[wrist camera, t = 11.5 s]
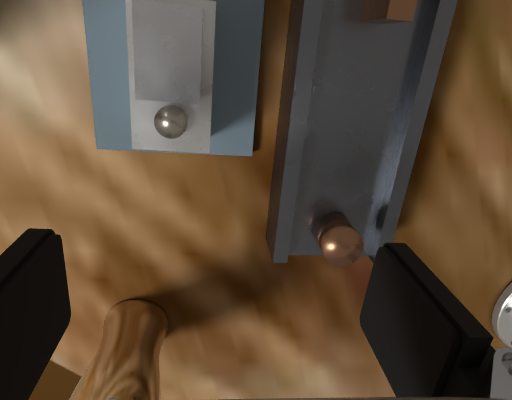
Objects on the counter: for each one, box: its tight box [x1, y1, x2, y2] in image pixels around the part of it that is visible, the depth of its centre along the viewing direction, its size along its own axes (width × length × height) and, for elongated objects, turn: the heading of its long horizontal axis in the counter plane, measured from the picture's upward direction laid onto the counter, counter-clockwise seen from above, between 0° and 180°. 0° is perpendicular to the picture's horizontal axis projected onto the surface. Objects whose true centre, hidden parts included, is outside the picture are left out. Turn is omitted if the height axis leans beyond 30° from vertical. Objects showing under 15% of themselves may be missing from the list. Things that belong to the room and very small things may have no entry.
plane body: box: [266, 0, 458, 266], centre depth 27 cm, size 22×10×7 cm, turn 175°
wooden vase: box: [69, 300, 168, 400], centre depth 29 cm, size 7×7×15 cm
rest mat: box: [82, 0, 265, 156], centre depth 26 cm, size 12×12×1 cm
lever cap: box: [125, 0, 216, 153], centre depth 23 cm, size 9×5×6 cm, turn 175°
